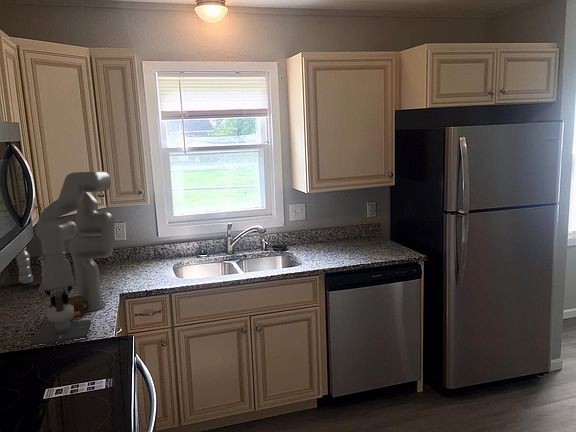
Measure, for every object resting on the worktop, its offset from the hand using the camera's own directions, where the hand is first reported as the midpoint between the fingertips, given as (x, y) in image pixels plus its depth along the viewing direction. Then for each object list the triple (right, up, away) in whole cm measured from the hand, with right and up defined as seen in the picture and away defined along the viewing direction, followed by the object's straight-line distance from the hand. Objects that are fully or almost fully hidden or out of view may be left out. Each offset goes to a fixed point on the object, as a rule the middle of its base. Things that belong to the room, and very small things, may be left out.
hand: (60, 304), depth 184 cm
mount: (0, -12, +2) cm, 12 cm away
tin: (-5, -9, +21) cm, 23 cm away
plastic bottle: (-51, -2, +72) cm, 89 cm away
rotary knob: (+1, -5, +1) cm, 5 cm away
